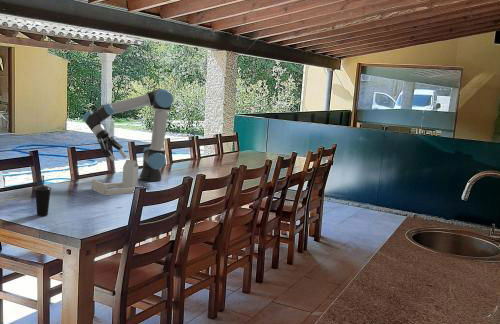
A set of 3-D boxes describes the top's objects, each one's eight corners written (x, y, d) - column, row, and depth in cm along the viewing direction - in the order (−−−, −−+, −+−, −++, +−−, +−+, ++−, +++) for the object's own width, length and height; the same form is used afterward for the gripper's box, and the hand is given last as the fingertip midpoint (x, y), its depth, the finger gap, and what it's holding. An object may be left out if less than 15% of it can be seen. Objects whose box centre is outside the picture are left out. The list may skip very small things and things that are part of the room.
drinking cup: (37, 212, 251) (37, 173, 248) (52, 213, 251) (53, 174, 248) (31, 216, 243) (32, 176, 240) (47, 217, 244) (48, 177, 241)
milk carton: (132, 191, 315) (133, 161, 312) (122, 189, 317) (123, 160, 314) (137, 189, 322) (138, 160, 319) (127, 187, 324) (128, 158, 321)
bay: (131, 185, 330) (131, 176, 329) (145, 191, 317) (146, 182, 316) (91, 188, 312) (91, 179, 311) (104, 195, 298) (105, 185, 297)
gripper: (107, 135, 334) (126, 159, 332) (85, 137, 310) (104, 164, 308) (115, 128, 332) (134, 153, 330) (92, 130, 308) (112, 157, 306)
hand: (120, 158), depth 319 cm, fingers open, 13 cm apart
